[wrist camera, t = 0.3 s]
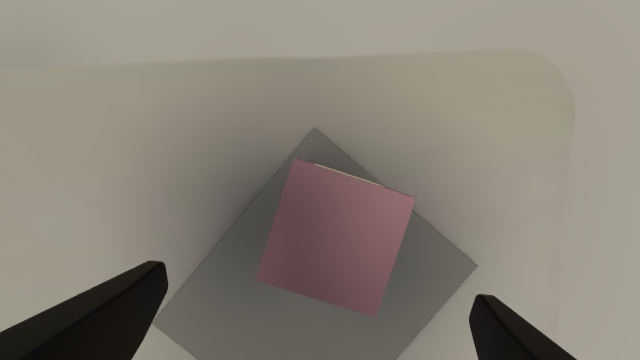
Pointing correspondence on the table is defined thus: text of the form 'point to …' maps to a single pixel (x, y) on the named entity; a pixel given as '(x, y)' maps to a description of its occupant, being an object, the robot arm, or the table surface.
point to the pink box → (335, 237)
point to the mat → (301, 311)
